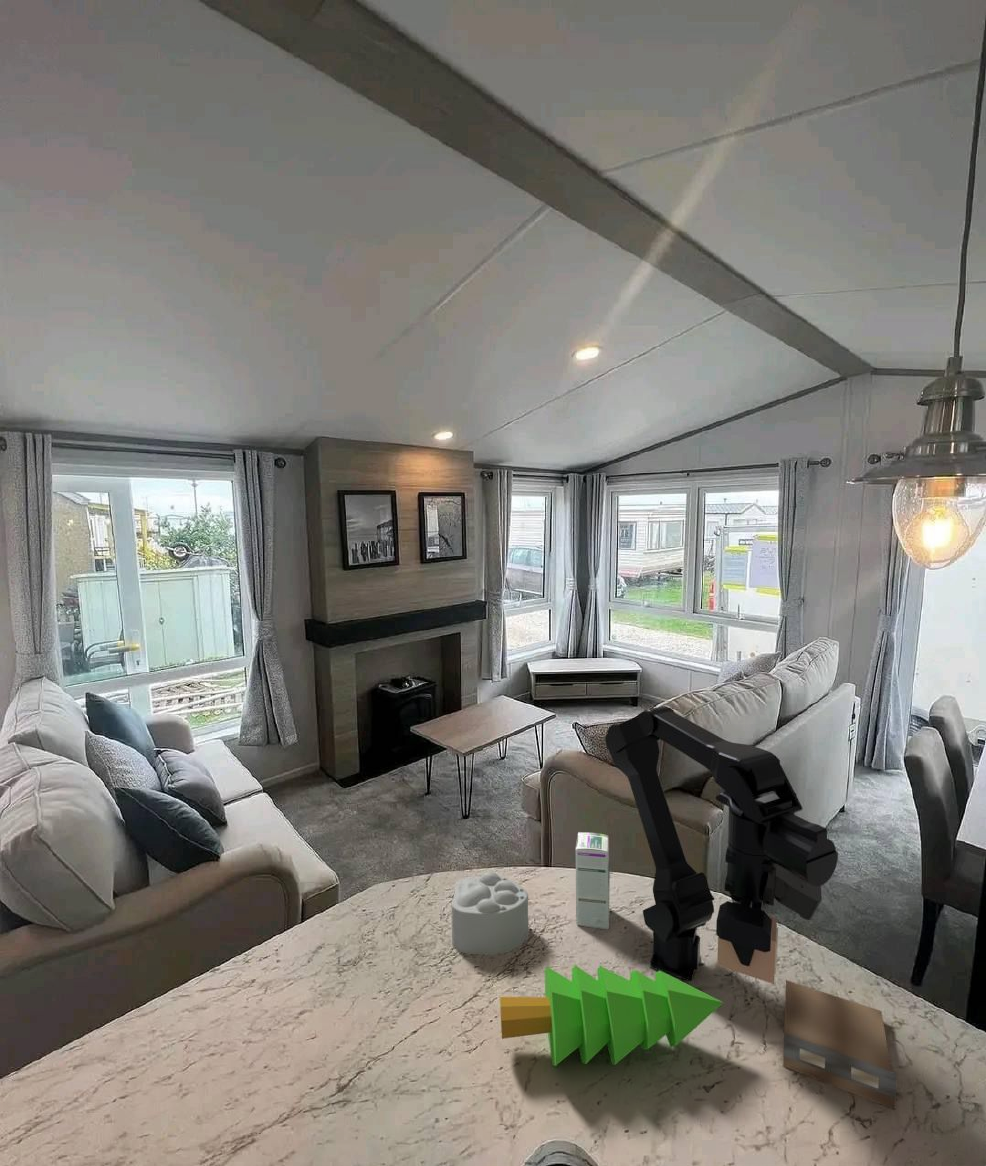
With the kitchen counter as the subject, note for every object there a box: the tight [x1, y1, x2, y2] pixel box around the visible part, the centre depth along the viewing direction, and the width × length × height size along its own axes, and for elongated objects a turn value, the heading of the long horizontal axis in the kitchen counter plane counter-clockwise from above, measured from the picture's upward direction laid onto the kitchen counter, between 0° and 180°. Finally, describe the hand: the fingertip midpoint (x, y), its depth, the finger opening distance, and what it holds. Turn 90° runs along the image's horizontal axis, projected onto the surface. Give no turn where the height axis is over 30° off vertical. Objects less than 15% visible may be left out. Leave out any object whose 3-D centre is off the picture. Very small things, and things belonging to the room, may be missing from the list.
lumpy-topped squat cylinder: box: [450, 871, 529, 956], centre depth 99 cm, size 10×13×9 cm
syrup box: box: [575, 831, 611, 930], centre depth 102 cm, size 6×6×14 cm
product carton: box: [716, 915, 779, 985], centre depth 79 cm, size 7×5×6 cm
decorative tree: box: [499, 965, 724, 1067], centre depth 77 cm, size 11×12×30 cm
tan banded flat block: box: [782, 979, 898, 1110], centre depth 77 cm, size 12×14×4 cm
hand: (746, 951), depth 79 cm, fingers closed on product carton, 5 cm apart
